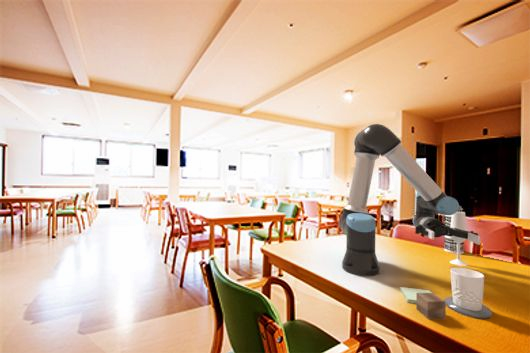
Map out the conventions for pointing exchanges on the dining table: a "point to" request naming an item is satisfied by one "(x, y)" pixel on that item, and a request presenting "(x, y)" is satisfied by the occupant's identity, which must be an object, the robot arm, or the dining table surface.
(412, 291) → the green mat
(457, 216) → the champagne flute
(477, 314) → the slate coaster
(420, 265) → the dining table surface
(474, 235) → the robot arm
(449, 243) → the decorative candle
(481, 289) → the white cup
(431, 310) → the walnut block
